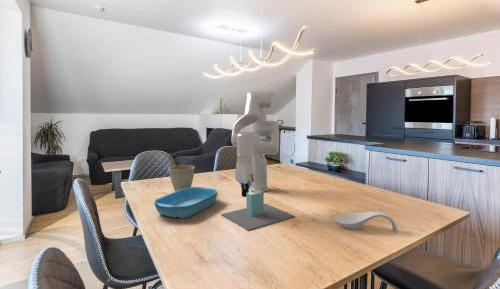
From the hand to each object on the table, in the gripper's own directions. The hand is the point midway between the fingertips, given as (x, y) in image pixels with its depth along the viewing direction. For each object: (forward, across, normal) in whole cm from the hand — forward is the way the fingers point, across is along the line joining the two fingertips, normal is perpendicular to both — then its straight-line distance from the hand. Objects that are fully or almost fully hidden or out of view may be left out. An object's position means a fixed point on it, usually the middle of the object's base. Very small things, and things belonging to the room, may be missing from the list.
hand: (245, 196), depth 140 cm
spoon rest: (+8, +47, +28) cm, 55 cm away
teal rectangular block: (+7, +8, 0) cm, 10 cm away
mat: (+7, +10, 0) cm, 12 cm away
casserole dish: (+8, -20, -21) cm, 30 cm away
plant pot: (+7, -46, -14) cm, 49 cm away
